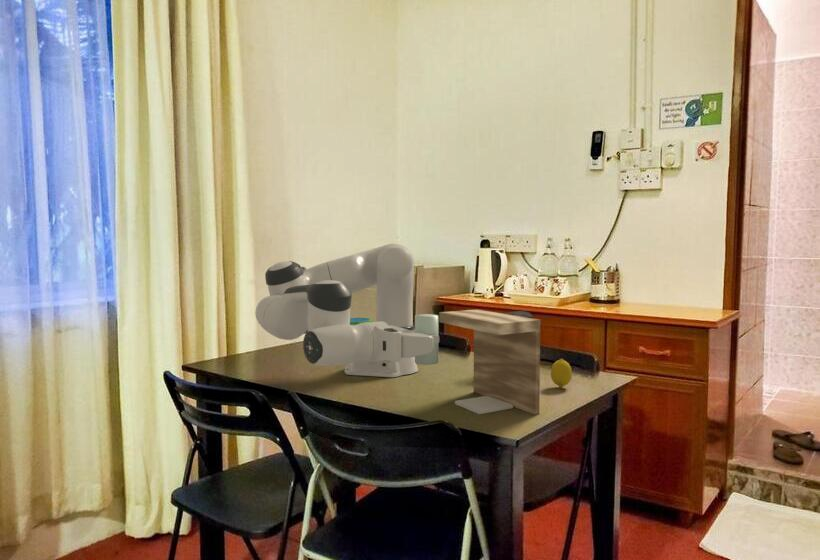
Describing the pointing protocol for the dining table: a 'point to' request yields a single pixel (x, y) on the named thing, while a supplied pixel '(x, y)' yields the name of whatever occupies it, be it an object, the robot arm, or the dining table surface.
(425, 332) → the pale green cylinder
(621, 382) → the dining table surface
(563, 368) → the lemon
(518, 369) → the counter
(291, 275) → the robot arm
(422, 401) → the dining table surface
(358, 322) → the snack cup
